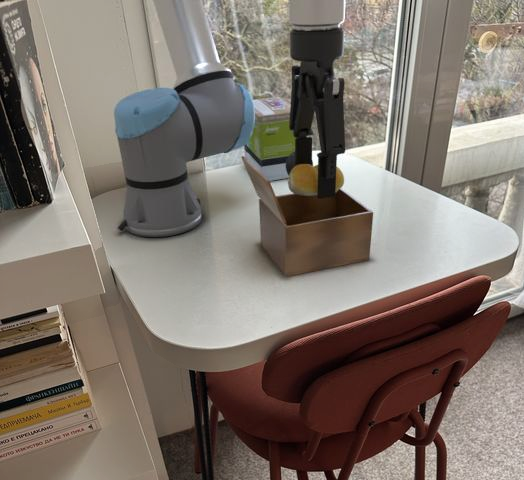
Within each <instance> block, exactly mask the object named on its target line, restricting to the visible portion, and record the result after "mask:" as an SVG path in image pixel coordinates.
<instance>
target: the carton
mask: <svg viewBox="0 0 524 480" xmlns="http://www.w3.org/2000/svg"><path fill="white" fill-rule="evenodd" d="M275 196H276V198H277V201H278V203H279V206H280V208H281V211H282V213H283V216H284V218H285V221H286V223H285V224H284V223H283V222H282V221H281V220H280V219H279V218H278V217H277V216H276V215H275V214H274V213H273V212H272V210H271V209H270V208H269V207H268V206H267V205H266V204H265V203H264V202H263V201H262V200H261V199H260V198H259V199H258V211H259V233H260V234H259V235H260V245H261V246H262V247H263V249H264V250H265V251H266V253H267V254H268V256H269V257H270V258H271V260H273V262H274V263H275V264H276V265H277V267H278V268H279V269H280V271H282V273H283V275H285V277H291V276H297V275H301V274H307V273H311V272H315V271H321V270H326V269H331V268H335V267H341V266H347V265H351V264H355V263H361V262H367V261H370V257H371V246H372V245H371V243H372V235H373V221H374V211H373V210H371V209H370V208H369V207H368V206H366V205H365V204H363V203H362V202H361V201H359V200H358V199H357V198H355V197H354V196H352V195H351V194H350V193H349V192H348V191H346V190H345V189H343V188H342V187H341V188H340V189H339V190H338V191H337V192H336V193H335V196H334V197H328V198H322V199H319V198H318V197H317V195H312V196H305V195H299V194H295V193H293V192H292V193H288V194H282V195H275Z"/></svg>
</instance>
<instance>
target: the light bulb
mask: <svg viewBox="0 0 524 480" xmlns="http://www.w3.org/2000/svg"><path fill="white" fill-rule="evenodd" d="M312 166H314V161H313V160H312ZM294 167H295V151H294V152H293V153H291V154H290V155H289V156H288V158H287V160H286V171H287V174H288V175H289V174H290V172H291V170H292V169H293V168H294Z"/></svg>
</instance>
